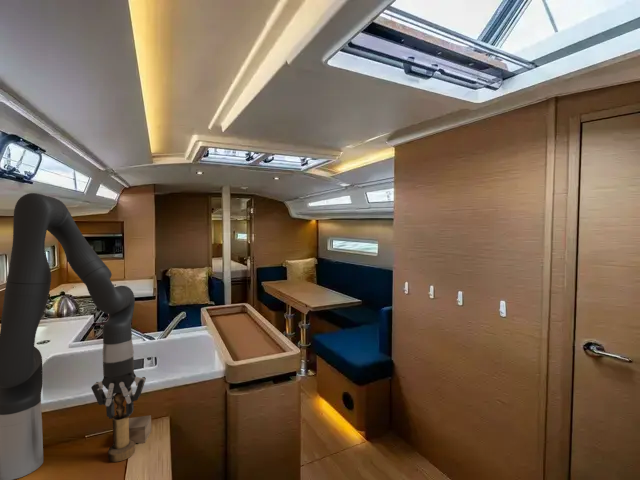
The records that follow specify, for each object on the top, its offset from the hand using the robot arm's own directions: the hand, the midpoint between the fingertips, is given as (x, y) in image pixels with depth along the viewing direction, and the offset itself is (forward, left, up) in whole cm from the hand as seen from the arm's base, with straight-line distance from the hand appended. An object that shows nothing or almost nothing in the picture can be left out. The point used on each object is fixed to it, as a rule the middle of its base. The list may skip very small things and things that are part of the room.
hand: (120, 415), depth 96 cm
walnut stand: (+1, +8, -11) cm, 14 cm away
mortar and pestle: (0, 0, -11) cm, 11 cm away
